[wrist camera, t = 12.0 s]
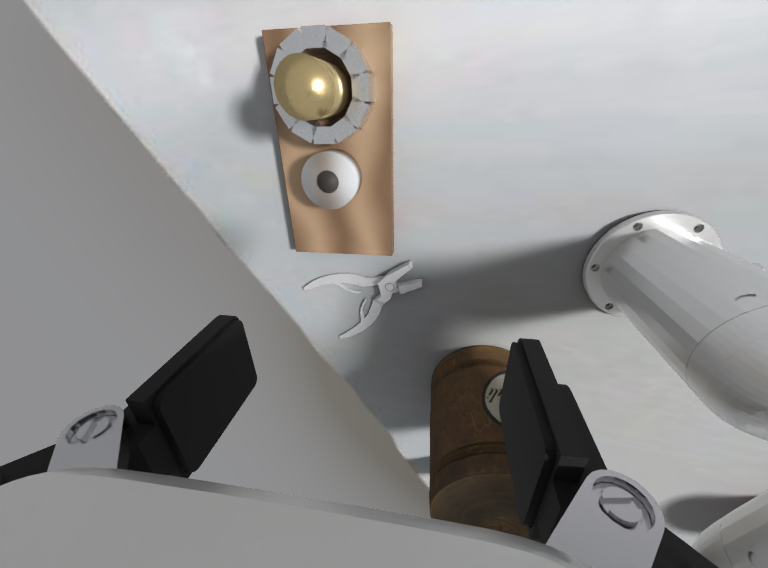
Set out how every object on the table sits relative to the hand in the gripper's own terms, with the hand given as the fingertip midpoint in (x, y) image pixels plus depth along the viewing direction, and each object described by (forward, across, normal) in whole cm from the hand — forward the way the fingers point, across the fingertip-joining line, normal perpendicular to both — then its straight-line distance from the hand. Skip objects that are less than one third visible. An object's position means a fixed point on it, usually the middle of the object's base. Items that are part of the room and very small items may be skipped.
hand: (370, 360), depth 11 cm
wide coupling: (+27, +9, -10) cm, 30 cm away
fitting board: (+28, +9, -4) cm, 30 cm away
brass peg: (+27, +9, -9) cm, 30 cm away
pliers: (+29, +7, +14) cm, 33 cm away
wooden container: (+29, -10, +28) cm, 41 cm away
